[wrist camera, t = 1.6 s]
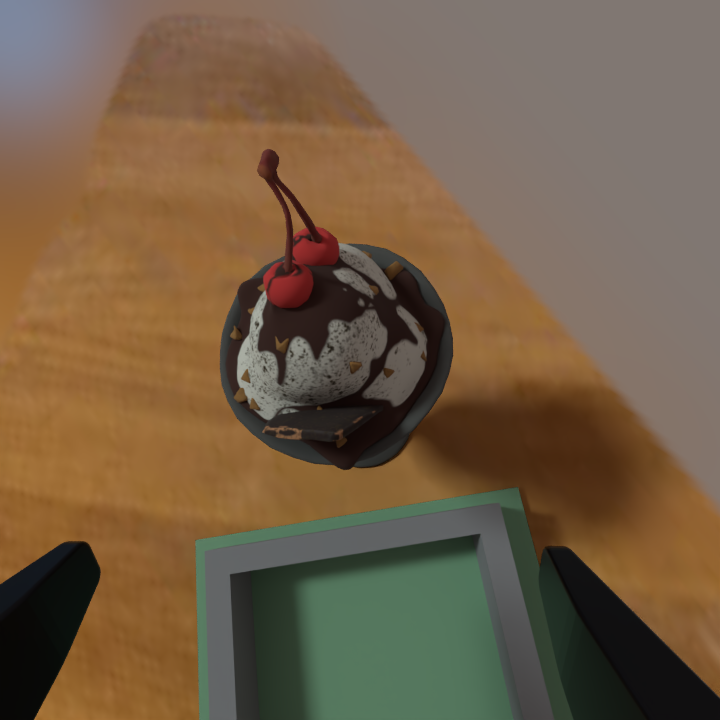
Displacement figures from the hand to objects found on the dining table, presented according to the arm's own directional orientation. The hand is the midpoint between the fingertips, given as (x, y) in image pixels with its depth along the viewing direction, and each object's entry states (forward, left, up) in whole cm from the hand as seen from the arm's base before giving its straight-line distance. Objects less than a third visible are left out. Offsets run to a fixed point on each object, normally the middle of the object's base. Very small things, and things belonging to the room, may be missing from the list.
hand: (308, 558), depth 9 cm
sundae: (+5, -1, -12) cm, 13 cm away
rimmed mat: (-6, 0, -12) cm, 13 cm away
